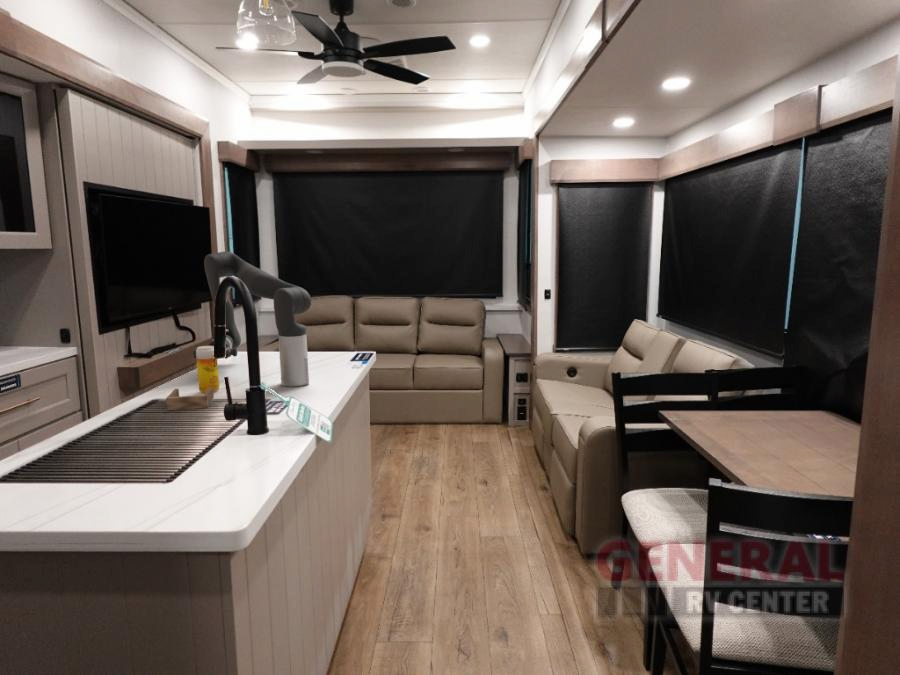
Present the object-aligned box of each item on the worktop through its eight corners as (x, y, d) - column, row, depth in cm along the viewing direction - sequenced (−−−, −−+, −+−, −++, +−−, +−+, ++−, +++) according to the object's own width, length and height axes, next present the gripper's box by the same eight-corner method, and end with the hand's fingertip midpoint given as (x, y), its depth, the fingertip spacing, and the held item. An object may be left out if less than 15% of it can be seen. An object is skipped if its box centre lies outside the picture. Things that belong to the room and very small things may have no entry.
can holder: (213, 397, 173) (212, 386, 173) (207, 407, 163) (206, 395, 162) (175, 400, 171) (174, 388, 170) (167, 410, 160) (165, 398, 159)
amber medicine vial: (214, 394, 177) (211, 348, 174) (196, 394, 177) (192, 348, 174) (222, 389, 183) (219, 345, 180) (204, 389, 183) (201, 345, 180)
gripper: (198, 338, 202) (189, 346, 186) (239, 336, 205) (233, 344, 190) (200, 358, 203) (191, 368, 188) (240, 356, 207) (235, 365, 191)
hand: (212, 356), depth 189 cm, fingers open, 8 cm apart
